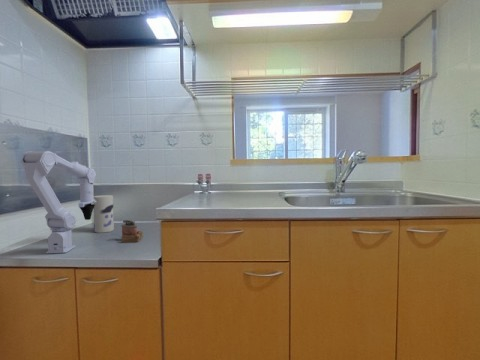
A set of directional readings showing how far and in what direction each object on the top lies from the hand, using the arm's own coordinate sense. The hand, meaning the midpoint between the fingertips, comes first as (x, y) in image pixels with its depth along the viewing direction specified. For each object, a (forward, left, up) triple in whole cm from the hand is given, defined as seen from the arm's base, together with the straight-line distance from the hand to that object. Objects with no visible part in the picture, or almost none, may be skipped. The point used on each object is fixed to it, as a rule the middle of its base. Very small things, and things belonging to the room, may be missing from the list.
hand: (87, 219), depth 129 cm
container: (+20, -1, -11) cm, 22 cm away
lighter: (-2, -20, -11) cm, 23 cm away
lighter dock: (-2, -22, -10) cm, 24 cm away
